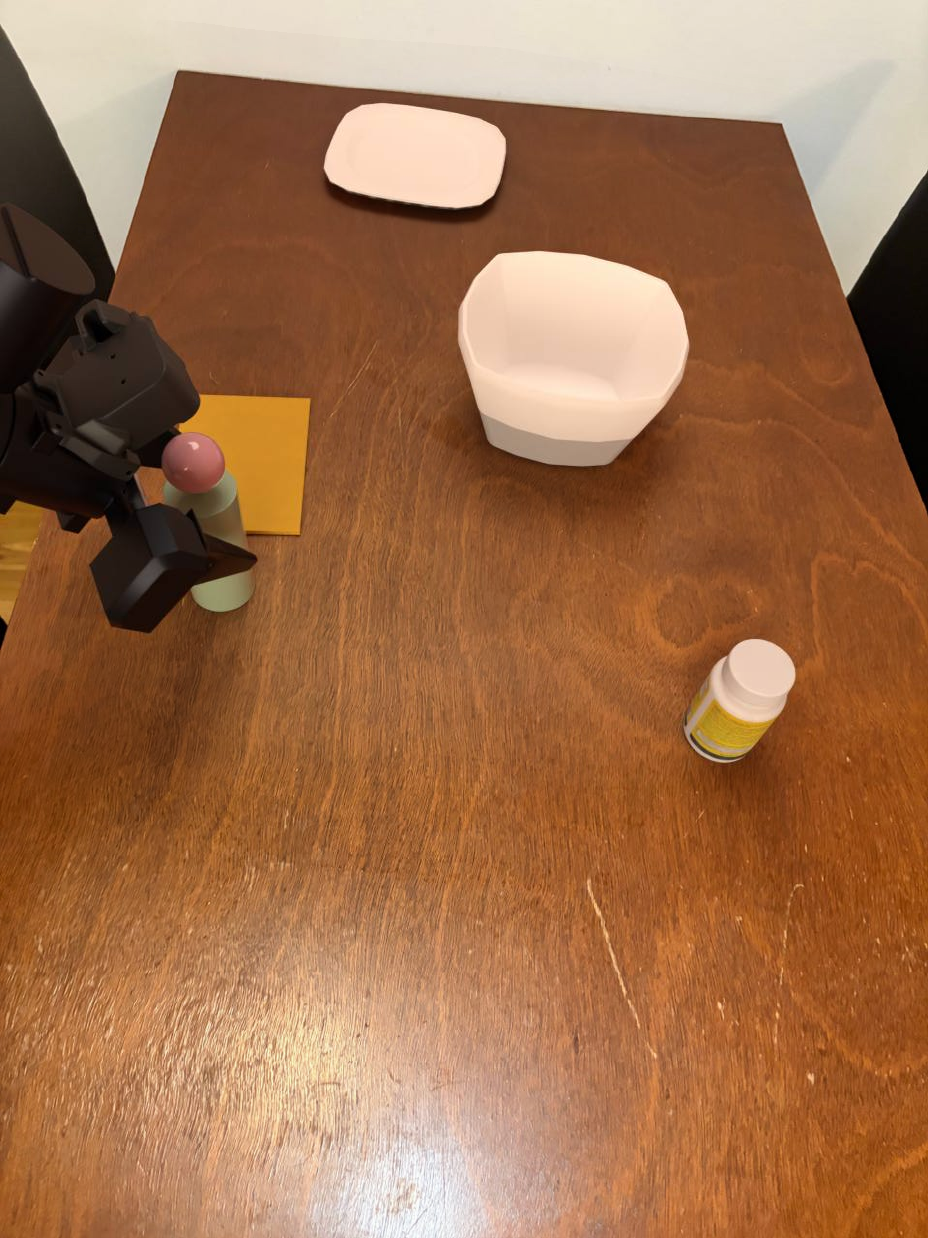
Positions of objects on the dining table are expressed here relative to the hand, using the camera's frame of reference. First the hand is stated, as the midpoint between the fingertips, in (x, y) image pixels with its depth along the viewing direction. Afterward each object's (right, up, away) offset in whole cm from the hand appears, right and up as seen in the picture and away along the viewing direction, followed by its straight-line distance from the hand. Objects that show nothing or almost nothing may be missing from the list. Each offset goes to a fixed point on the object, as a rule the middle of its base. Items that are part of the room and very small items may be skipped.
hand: (230, 512), depth 57 cm
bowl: (+22, +10, +18) cm, 31 cm away
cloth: (-2, +5, +12) cm, 13 cm away
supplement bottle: (+32, -14, +3) cm, 35 cm away
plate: (+10, +41, +37) cm, 56 cm away
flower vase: (-2, -4, +5) cm, 7 cm away
